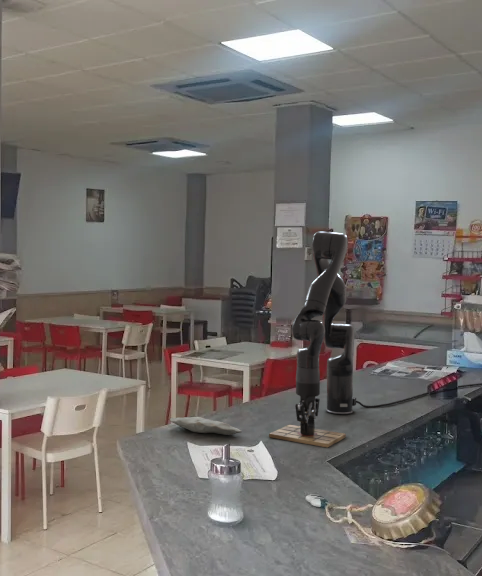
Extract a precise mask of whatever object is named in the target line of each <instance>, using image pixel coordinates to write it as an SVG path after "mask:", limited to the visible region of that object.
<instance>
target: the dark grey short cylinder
mask: <svg viewBox="0 0 482 576" xmlns="http://www.w3.org/2000/svg"><path fill="white" fill-rule="evenodd" d="M299 426H300V433H301V422H299ZM315 429H316V423H315V422H314V423H311V422H308V433H307V434H303V435H314V434H315ZM301 434H302V433H301Z"/></svg>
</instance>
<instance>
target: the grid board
mask: <svg viewBox="0 0 482 576" xmlns="http://www.w3.org/2000/svg"><path fill="white" fill-rule="evenodd" d="M268 437H269V438H271V439H277V440H283V441H289V442H293V443H294V442H295V443H299V444H305V445H311V446H316V447H322V448H329V447H331V446H334V445H335V444H337V443H338V442H340V441H342V440H344V439H345V438H347V434H346V433H345V432H344V433H343V432H337V431H332V430H326V429H320V428H315V434H314V435H303V434H301V433H300V425H295V424H287V425H285V426H283V427H281V428H278V429H276V430H274V431H272V432H269V433H268Z"/></svg>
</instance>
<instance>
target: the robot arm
mask: <svg viewBox="0 0 482 576" xmlns="http://www.w3.org/2000/svg"><path fill="white" fill-rule="evenodd" d="M348 246H349V240H348V237H347V235H346V234H345V233H342V232H332V231H317V232H315V233H314V234H313V236H312V239H311V252H312V258H313V261H314V266H315V270H316V276H317V277H316V278H315V279H314V280H313V282H311V284H310V285H309V286H308V289H307V292H306V296H305V299H304V302H303V305H302V307H301V308H300V310H299V312H298V314H297V315H296V317H295V318H294V320H293V323H292V325H291V329H290V331H291V335H292V337H293V339H294V340H297V341H300V342H310V344H309V345H308V346H307V347H302V348H301V347H300V348H298V349H297V352H296V371H295V395H297V396H299V403H296V404H295V413H296V414H295V415H296V421H297V422H299V423H301V433H302V434H307V433H308V422H311V423H314V424H315V420H316V418H317V417H318V416H319V409H320V408H319V407H320V398H319V397H318V396H320V394H321V382H320V381H321V372H320V354H321V349H322V345H323V343H324V346H325V347H326V348H328V349H338V350H339V349H340V350H343V351H342V352H341V353H339V354H338V355H334V356H331V357H328V358H327V360H326V412H327V413H329V414H333V415H351V414H353V413H354V409H353V407H355V406H356V405H357V404H358V405H360V406H361V407H363V408H366V409H369V408H380V407H387V406H391V405H392V406H393V405H396V404H400V403H403V402H406V401H409V400H413V399H416V398H419V397H423V396H427V395H429V393H428V392H429V391H426V392H423V393H420V394H417V395H413V396H410V397H408V398H404V399H400V400H396V401H392V402H388V403H381V404H375V405H366V404H363V403H362V402H360V401H358V400H357V397H353V396H354V394H353V391H354V389H353V388H354V375H353V374H354V341H355V330H354V326H353V325H352V324H351V323H350V324H349V323H333V321H334V320H335V318H336V316H337V315H338V314H339V313H340V311H341V310H342V309H343V308H344V306H345V305H346V302H347V288H346V284H345V281H344V279H343V278H342V277H341V275H340V274H339V272H340V270H341V267H342V265H343V263H344V260H345V258H346V255H347V252H348ZM329 260H330V261H329ZM317 317H322V318H321V319H322V321H321V320H318V319H314V318H317ZM457 386H458V388H466V387H473V386H475V387H476V386H482V382H479V383H469V384H461V385H457ZM458 388H457V389H458Z"/></svg>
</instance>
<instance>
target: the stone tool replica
mask: <svg viewBox="0 0 482 576" xmlns="http://www.w3.org/2000/svg"><path fill="white" fill-rule="evenodd" d="M169 421H170V422H171V423H172V424H174V425H176V426H177V427H180V428H184V429H186V430H188V431H189V432H192V433H200V434H217V435H223V436H231V435H232V436H233V435H235V434H241V433H243V430H241V429H239V428H237V427H234V426H232V425H231V424H229V423H226V422H222V421H219V420H212V419H208V418H204V417H201V416H194V417H193V416H192V417H191V416H185V417H171V418H169Z"/></svg>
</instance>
